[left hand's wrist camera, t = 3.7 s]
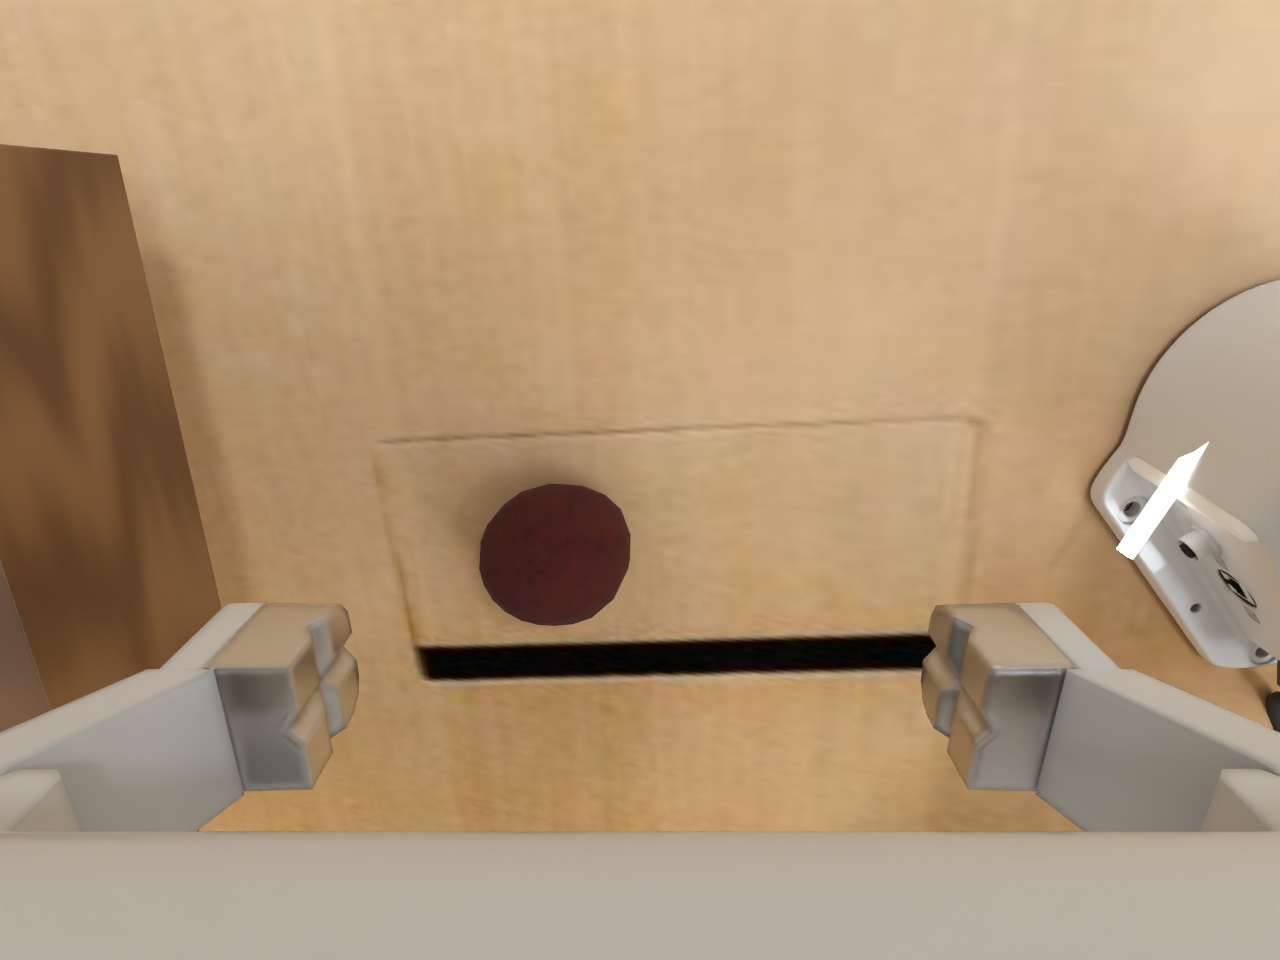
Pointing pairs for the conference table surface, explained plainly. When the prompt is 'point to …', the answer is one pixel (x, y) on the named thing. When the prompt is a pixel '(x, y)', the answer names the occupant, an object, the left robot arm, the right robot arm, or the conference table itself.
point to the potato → (555, 554)
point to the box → (86, 446)
